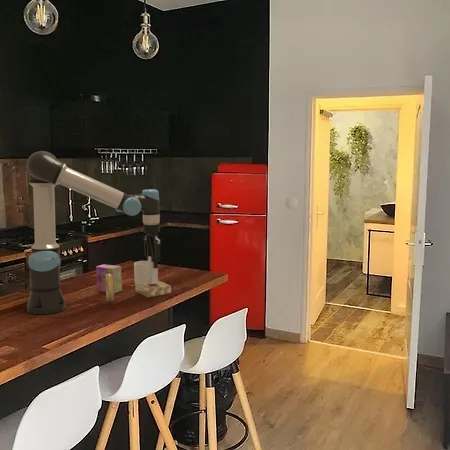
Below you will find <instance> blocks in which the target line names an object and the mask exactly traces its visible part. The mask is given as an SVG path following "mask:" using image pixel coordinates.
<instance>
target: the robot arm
mask: <svg viewBox="0 0 450 450" xmlns="http://www.w3.org/2000/svg"><path fill="white" fill-rule="evenodd" d="M26 167H27V171H28V184H29V185H30V186H31V187H32V192H33V193H32V194H33V195H32V196H33V224H34V225H33V226H34V243H33V244H32V245H31V247H30V248H31V251H30V255H29V256H28V262H27V263H28V264H27V265H28V268H29V269H28V270H29V272H28V273H29V287H30V293H29V297H28V300H27V303H26V312H27V313H28V314H32V315H49V314H56V313H59V312H61V311H64V310H65V309H66V308H67V307H66V301H65V298H64V295H63V292H62V291H61V277H60V269H61V268H60V267H61V260H62V259H61V254H60V253H61V252H60V251H61V250H60V245H59V244H58V243H57V241H56V239H57V238H56V237H57V235H56V232H57V231H56V204H55V203H56V200H55V199H56V198H55V197H56V195H55V194H56V192H55V187H56V186H58V185H61V186H63V187H66V188H67V189H70V190H71V191H72V190H73V191H75V192H77V193H79V194H82V195H83V196H86V197H88V198H90V199H92V200H95V201H98V202H99V203H103V204H104V205H107V206H109V207H111V208H114V209H115V211H116V212H117V213H125V214H126V215H127V216H131V217H133V216H136V215H138V214H139V213H140V212H142V223H143V225H142V229H143V230H142V232H143V233H144V234H145V236H142V239H143V247H144V249H143V250H144V257H145V259H146V261H148V256H152V260H151V262H152V276H154V275H159V268H158V267H159V265H158V263H159V262H158V261H161V248H162V247H161V245H162V239H161V238H160V239H159V235H158V233H160V232H161V225H160V224H161V223H160V221H161V220H160V218H161V215H160V195H159V193H160V192H159V191H158V190H157V189H154V188H153V189H143V190H141V193H140V194H127V193H125V192H124V191H123V192H122V191H121V190H119V189H116V188H114V187H112V186H110V185H107V184H106V183H104V182H101V181H98V180H96V179H94V178H93V177H90V176H88V175H85V174H84V173H81V172H79V171H77V170H74V169H72V168H71V167H68V166H67V164H66V163H65V162H63V161H61V160H59V159H57V158H56V156H55V155H54V154H53V153H51V152H49V151H47V150H46V151H44V150H40V151H39V150H38V151H36V152H33V153H32V154H31V155H30V156H29V157H28V159H27V162H26ZM148 274H149V268H148Z"/></svg>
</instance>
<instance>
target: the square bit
mask: <svg viewBox="0 0 450 450" xmlns="http://www.w3.org/2000/svg"><path fill="white" fill-rule="evenodd" d="M151 260H152V256H148V260H147V261H148V268H149V282H151V283H154V282H158V281H159V277H158V275H159V274H158V275H154V276H152V262H151Z"/></svg>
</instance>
